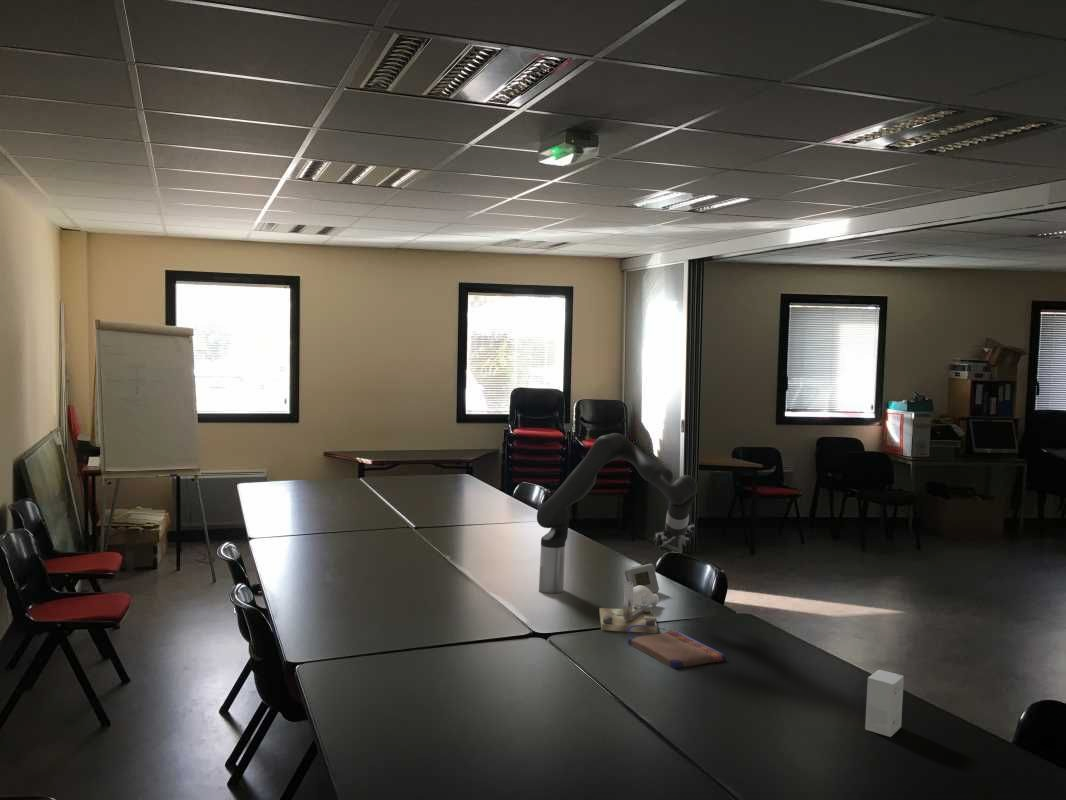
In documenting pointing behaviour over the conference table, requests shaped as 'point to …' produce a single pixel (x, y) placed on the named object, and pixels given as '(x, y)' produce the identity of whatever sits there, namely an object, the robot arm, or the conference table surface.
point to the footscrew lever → (628, 603)
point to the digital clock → (643, 577)
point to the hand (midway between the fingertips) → (673, 546)
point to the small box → (884, 702)
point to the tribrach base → (626, 621)
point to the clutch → (675, 649)
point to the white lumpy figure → (644, 596)
